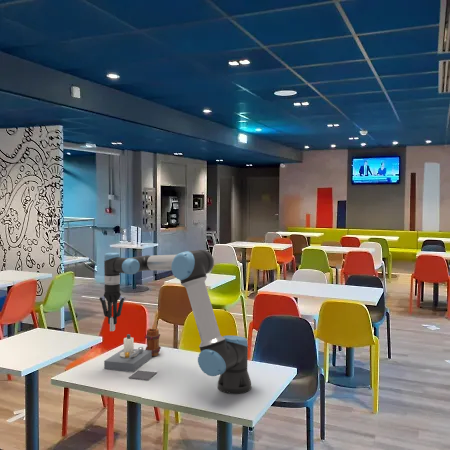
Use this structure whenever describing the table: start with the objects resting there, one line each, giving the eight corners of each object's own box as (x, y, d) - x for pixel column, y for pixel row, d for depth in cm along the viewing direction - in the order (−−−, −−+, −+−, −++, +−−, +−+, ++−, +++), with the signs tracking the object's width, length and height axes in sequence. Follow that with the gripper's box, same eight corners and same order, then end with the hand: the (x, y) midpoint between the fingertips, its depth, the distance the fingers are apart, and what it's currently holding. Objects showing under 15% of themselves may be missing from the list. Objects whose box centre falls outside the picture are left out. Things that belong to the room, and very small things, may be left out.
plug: (132, 366, 242) (132, 337, 241) (116, 365, 244) (116, 336, 243) (140, 361, 250) (140, 333, 250) (124, 359, 253) (124, 331, 252)
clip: (128, 360, 235) (128, 353, 235) (123, 359, 236) (123, 353, 236) (144, 349, 253) (144, 343, 253) (139, 349, 253) (139, 342, 253)
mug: (158, 358, 256) (158, 330, 255) (143, 357, 256) (143, 330, 255) (162, 349, 270) (162, 323, 270) (148, 349, 271) (148, 323, 270)
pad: (148, 380, 223) (148, 379, 223) (128, 378, 225) (128, 377, 225) (156, 373, 232) (156, 372, 232) (137, 371, 235) (137, 370, 235)
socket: (133, 371, 235) (133, 361, 234) (104, 368, 239) (104, 358, 239) (151, 357, 256) (151, 348, 256) (124, 355, 260) (124, 346, 260)
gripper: (96, 284, 234) (97, 331, 235) (122, 285, 233) (122, 332, 234) (102, 282, 242) (102, 328, 243) (127, 282, 240) (127, 328, 241)
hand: (112, 330), depth 238 cm, fingers closed
